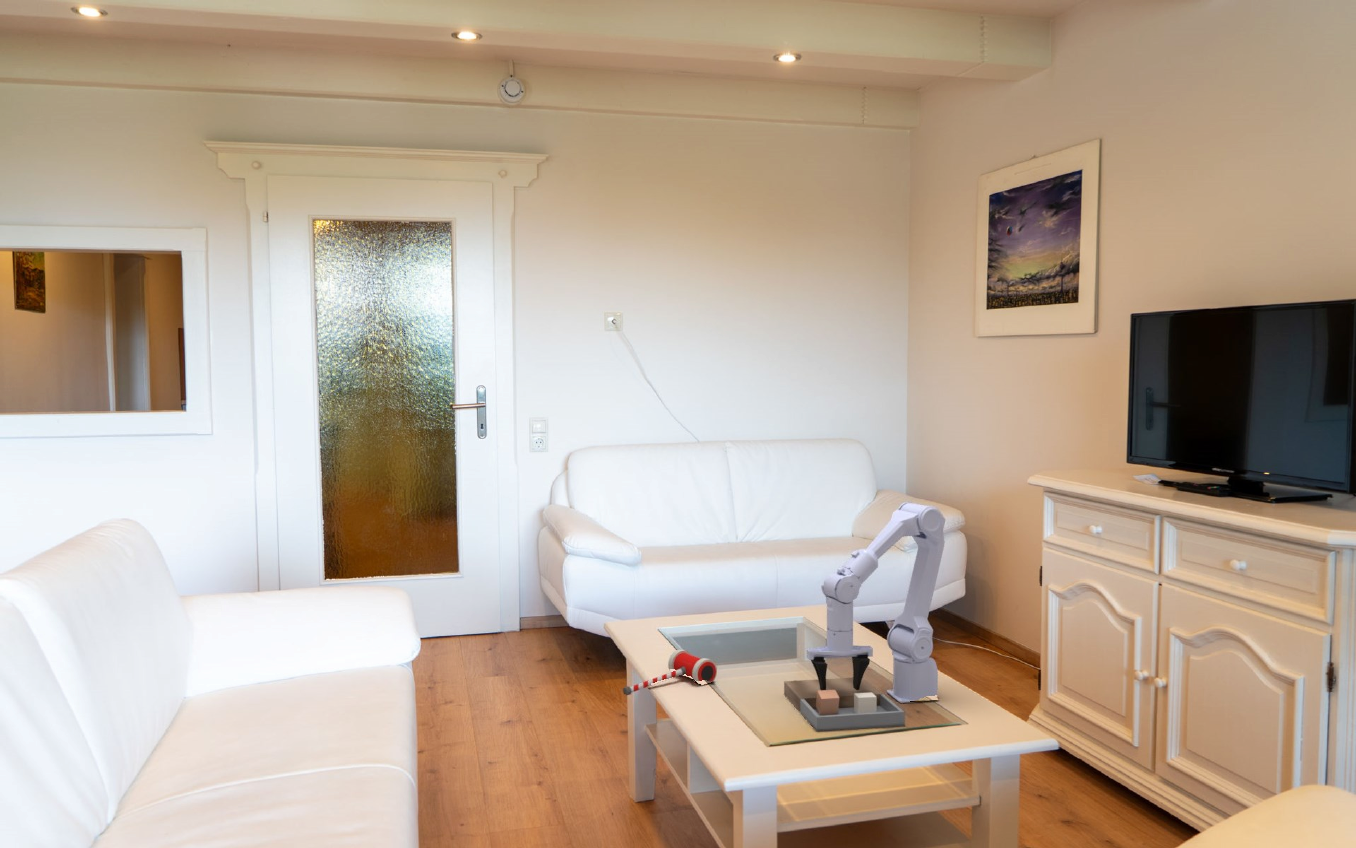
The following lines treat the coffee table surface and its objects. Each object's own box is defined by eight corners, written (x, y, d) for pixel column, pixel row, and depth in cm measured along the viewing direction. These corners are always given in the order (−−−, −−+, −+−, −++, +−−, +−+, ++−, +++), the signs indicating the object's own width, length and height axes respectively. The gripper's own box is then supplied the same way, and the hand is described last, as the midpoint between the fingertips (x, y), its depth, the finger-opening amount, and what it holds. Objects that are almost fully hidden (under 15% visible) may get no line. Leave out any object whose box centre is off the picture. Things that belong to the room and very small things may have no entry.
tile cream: (871, 692, 209) (876, 696, 206) (871, 710, 209) (876, 715, 206) (854, 693, 209) (858, 697, 206) (854, 711, 209) (858, 716, 206)
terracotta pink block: (835, 689, 209) (839, 697, 206) (833, 705, 210) (837, 713, 207) (817, 690, 208) (821, 699, 206) (815, 706, 210) (819, 714, 207)
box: (883, 707, 213) (883, 694, 213) (904, 726, 201) (904, 712, 201) (800, 712, 210) (800, 699, 209) (816, 731, 198) (816, 717, 198)
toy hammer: (639, 703, 218) (639, 675, 217) (611, 690, 227) (610, 663, 227) (717, 684, 231) (717, 657, 231) (688, 672, 241) (688, 647, 241)
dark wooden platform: (862, 689, 225) (862, 677, 225) (883, 707, 213) (883, 693, 213) (784, 694, 222) (784, 681, 222) (799, 712, 210) (799, 698, 210)
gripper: (865, 622, 217) (864, 682, 218) (802, 625, 215) (802, 686, 215) (876, 630, 210) (876, 692, 211) (812, 633, 208) (812, 696, 208)
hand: (839, 689), depth 213 cm, fingers open, 7 cm apart
